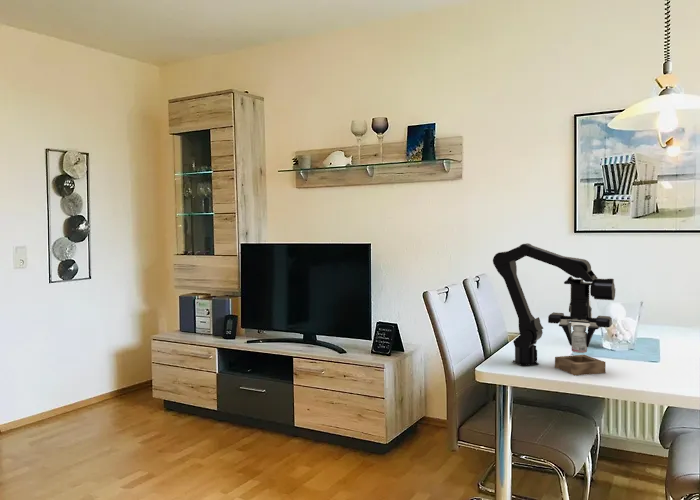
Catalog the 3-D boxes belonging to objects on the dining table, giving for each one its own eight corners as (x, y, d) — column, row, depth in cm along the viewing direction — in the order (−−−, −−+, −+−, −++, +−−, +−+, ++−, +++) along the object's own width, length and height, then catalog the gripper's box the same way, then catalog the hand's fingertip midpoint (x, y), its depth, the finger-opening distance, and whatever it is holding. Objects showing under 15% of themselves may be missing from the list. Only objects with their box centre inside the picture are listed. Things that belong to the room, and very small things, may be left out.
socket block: (575, 375, 190) (575, 364, 190) (555, 367, 201) (555, 356, 200) (605, 372, 193) (605, 362, 192) (584, 364, 203) (584, 354, 203)
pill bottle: (574, 349, 200) (574, 324, 199) (589, 351, 197) (589, 325, 196) (569, 351, 196) (569, 326, 196) (584, 353, 193) (584, 327, 192)
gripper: (614, 297, 197) (613, 344, 198) (555, 293, 207) (555, 339, 208) (609, 301, 188) (608, 351, 189) (548, 297, 198) (547, 345, 198)
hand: (579, 346), depth 196 cm, fingers closed on pill bottle, 5 cm apart
